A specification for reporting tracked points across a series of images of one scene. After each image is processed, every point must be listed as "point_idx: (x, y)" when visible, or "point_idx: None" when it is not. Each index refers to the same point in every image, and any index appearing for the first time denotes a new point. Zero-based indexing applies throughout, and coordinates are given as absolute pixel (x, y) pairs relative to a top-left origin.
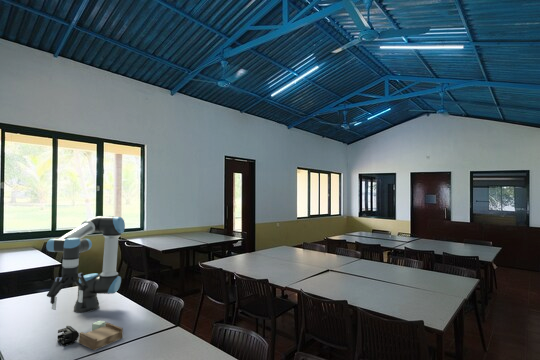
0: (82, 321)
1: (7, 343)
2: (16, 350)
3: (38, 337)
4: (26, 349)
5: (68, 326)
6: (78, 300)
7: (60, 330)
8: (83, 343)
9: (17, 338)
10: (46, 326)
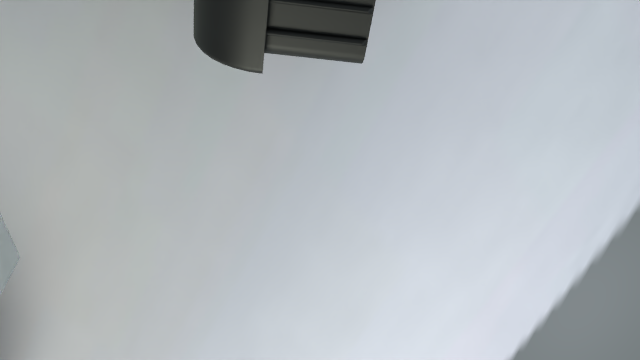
0: None
1: (569, 266)
2: (634, 110)
3: (402, 208)
4: (593, 63)
5: (251, 35)
6: (2, 276)
7: (365, 10)
8: None
9: (488, 291)
10: (266, 334)
